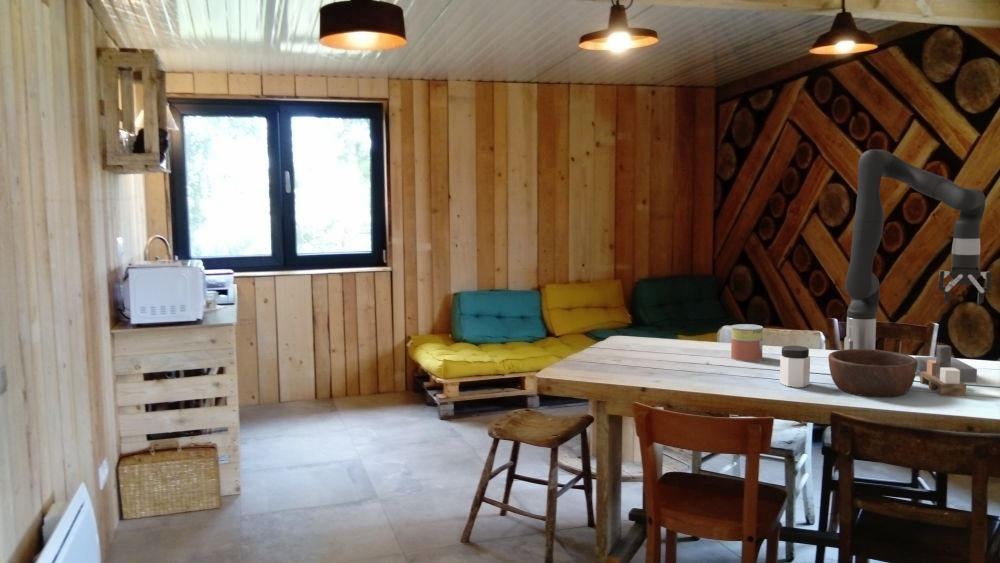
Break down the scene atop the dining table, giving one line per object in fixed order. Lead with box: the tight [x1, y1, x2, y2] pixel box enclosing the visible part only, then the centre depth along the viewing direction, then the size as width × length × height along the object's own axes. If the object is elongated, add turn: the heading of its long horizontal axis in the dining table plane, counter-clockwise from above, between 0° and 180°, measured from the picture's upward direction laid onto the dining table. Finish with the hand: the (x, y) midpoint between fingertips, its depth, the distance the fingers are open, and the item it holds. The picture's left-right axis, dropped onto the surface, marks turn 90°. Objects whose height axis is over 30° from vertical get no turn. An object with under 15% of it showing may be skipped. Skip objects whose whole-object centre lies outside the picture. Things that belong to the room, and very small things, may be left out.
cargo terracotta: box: [927, 360, 936, 375], centre depth 238 cm, size 4×4×4 cm
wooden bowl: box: [827, 349, 918, 398], centre depth 236 cm, size 25×25×10 cm
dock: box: [914, 356, 978, 383], centre depth 251 cm, size 12×18×4 cm, turn 171°
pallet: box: [919, 344, 967, 397], centre depth 233 cm, size 7×16×14 cm, turn 171°
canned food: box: [730, 323, 764, 363], centre depth 282 cm, size 11×11×12 cm
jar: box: [779, 345, 811, 388], centre depth 243 cm, size 9×8×12 cm
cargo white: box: [940, 367, 960, 384], centre depth 228 cm, size 4×4×4 cm
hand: (963, 303), depth 238 cm, fingers open, 8 cm apart
